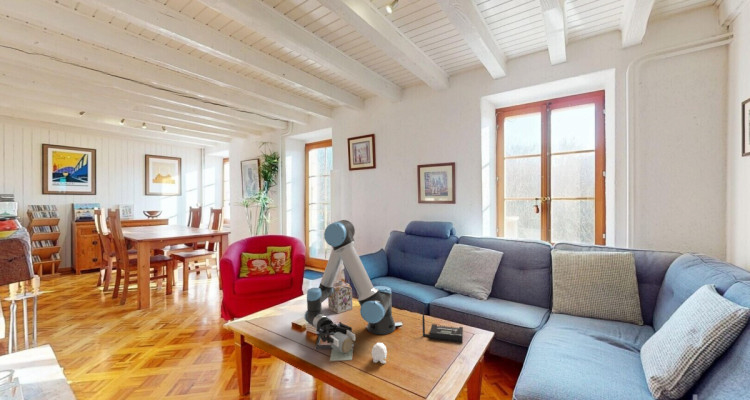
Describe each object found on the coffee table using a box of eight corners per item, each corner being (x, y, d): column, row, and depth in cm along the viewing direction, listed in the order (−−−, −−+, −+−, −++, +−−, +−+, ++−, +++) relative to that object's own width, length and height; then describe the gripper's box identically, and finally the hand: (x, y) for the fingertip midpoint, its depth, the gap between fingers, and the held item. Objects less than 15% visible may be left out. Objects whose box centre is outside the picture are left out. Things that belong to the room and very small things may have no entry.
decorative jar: (343, 304, 212) (342, 277, 211) (353, 309, 203) (352, 281, 202) (327, 308, 204) (326, 281, 204) (337, 314, 195) (336, 285, 195)
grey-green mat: (352, 348, 152) (352, 348, 152) (352, 360, 142) (352, 359, 142) (332, 349, 151) (332, 348, 151) (329, 360, 141) (329, 360, 141)
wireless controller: (463, 332, 167) (462, 301, 166) (462, 345, 153) (461, 310, 153) (425, 329, 173) (424, 298, 172) (421, 340, 159) (420, 307, 159)
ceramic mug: (343, 356, 141) (342, 339, 141) (330, 351, 146) (329, 334, 146) (358, 347, 149) (358, 331, 149) (345, 342, 154) (345, 327, 154)
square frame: (346, 333, 169) (346, 330, 169) (344, 348, 153) (344, 345, 153) (320, 334, 168) (320, 331, 168) (315, 349, 152) (315, 346, 152)
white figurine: (370, 345, 137) (376, 335, 149) (370, 365, 137) (376, 353, 148) (384, 346, 136) (389, 336, 147) (384, 366, 135) (389, 355, 147)
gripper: (341, 325, 167) (365, 341, 149) (304, 337, 155) (326, 356, 136) (340, 311, 167) (365, 326, 149) (303, 322, 154) (325, 339, 136)
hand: (346, 340), depth 143 cm, fingers closed on ceramic mug, 8 cm apart
